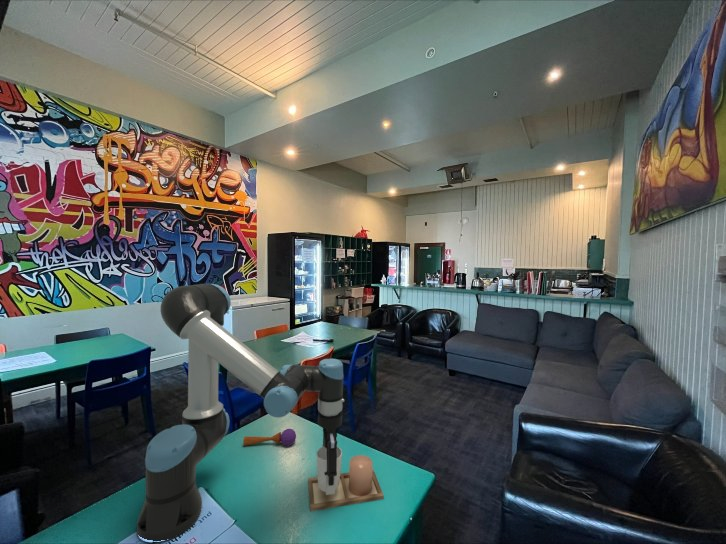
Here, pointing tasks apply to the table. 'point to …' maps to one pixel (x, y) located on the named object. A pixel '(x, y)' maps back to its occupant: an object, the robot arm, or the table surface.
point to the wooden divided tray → (341, 494)
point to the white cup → (323, 467)
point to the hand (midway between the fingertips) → (328, 483)
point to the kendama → (273, 438)
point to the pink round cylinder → (360, 475)
